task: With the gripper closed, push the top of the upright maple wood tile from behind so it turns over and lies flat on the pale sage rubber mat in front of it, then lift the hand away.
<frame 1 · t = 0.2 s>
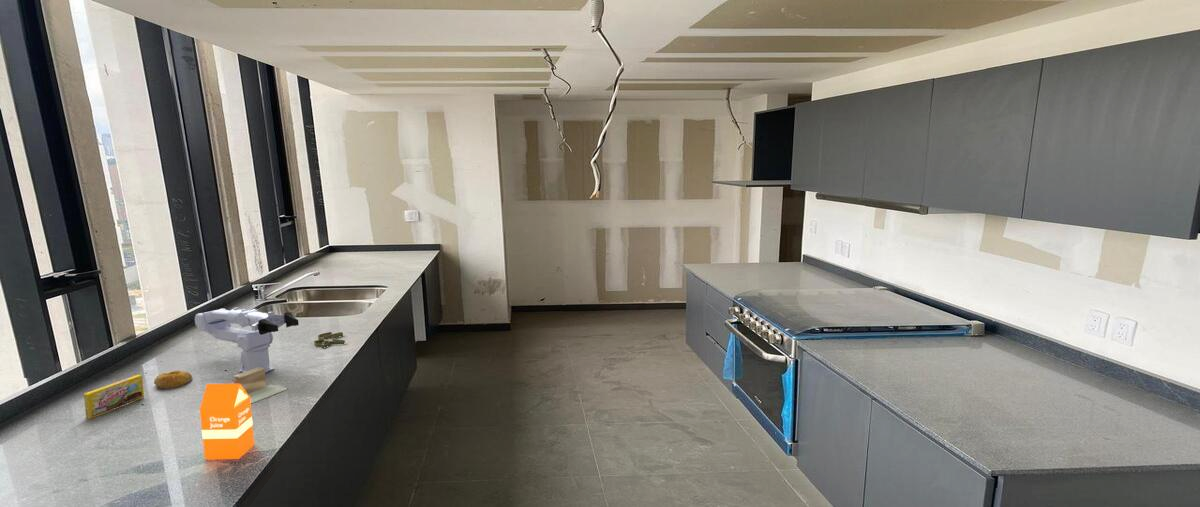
hand: (287, 325, 192), 21 cm above the counter, tool horizontal, fingers open, 7 cm apart
maple tile: (250, 391, 186), on the counter
candy box: (116, 408, 172), on the counter
sage mat: (262, 394, 184), on the counter
orange juice: (230, 452, 147), on the counter
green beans: (329, 342, 239), on the counter
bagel: (174, 384, 191), on the counter
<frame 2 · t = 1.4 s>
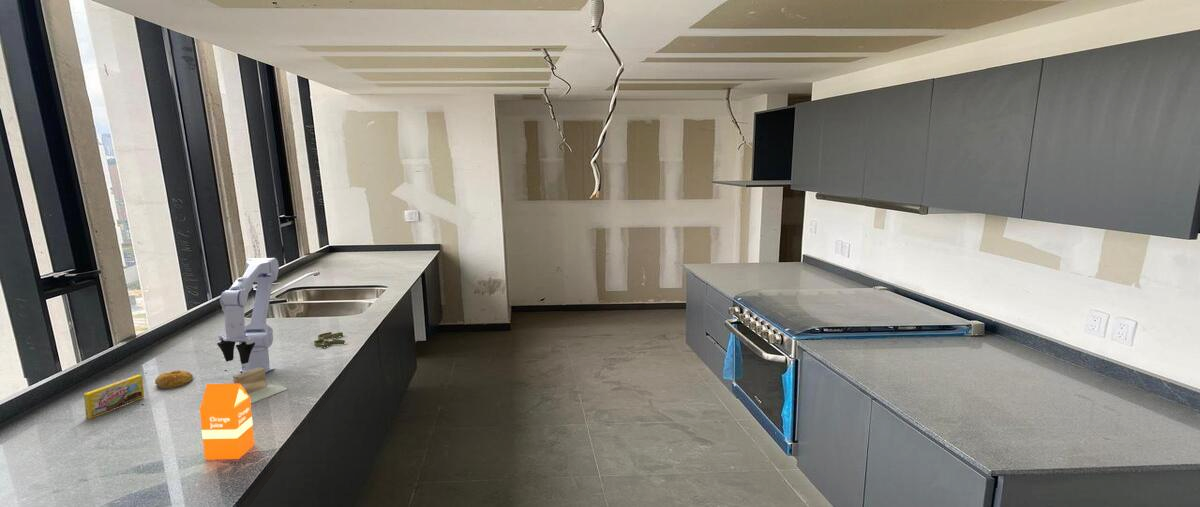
hand: (237, 361, 187), 10 cm above the counter, tool pointing down, fingers open, 7 cm apart
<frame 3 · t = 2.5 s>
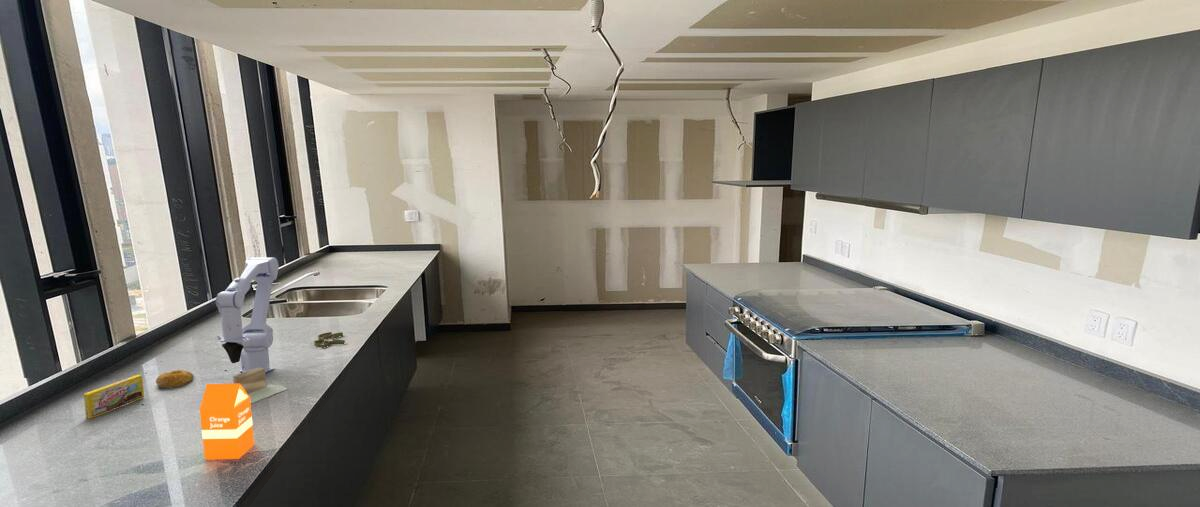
hand: (235, 362, 187), 9 cm above the counter, tool pointing down, fingers closed
nothing on the counter moved.
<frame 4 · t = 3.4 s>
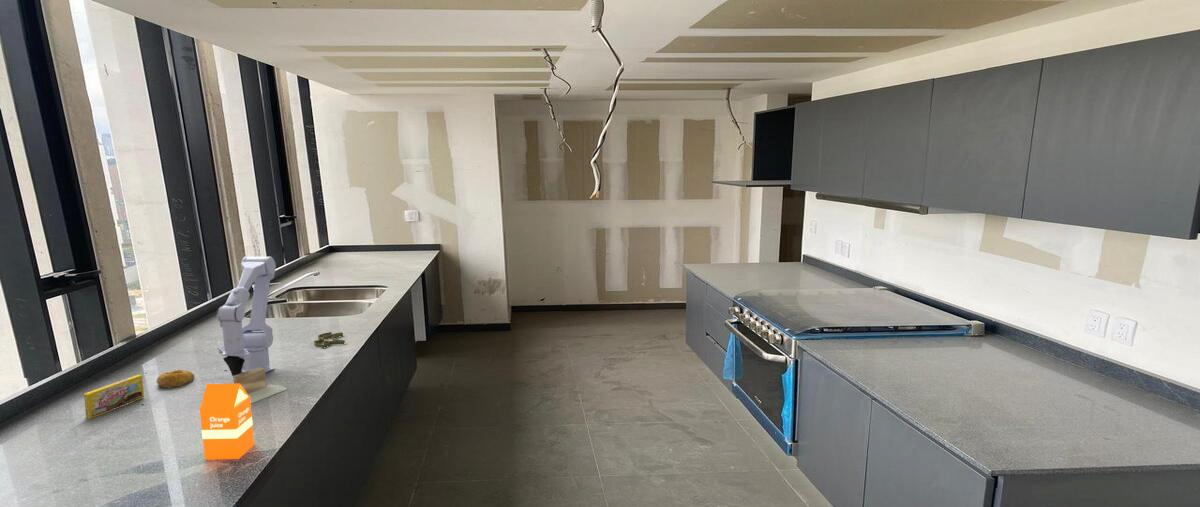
hand: (236, 375, 188), 4 cm above the counter, tool pointing down, fingers closed
nothing on the counter moved.
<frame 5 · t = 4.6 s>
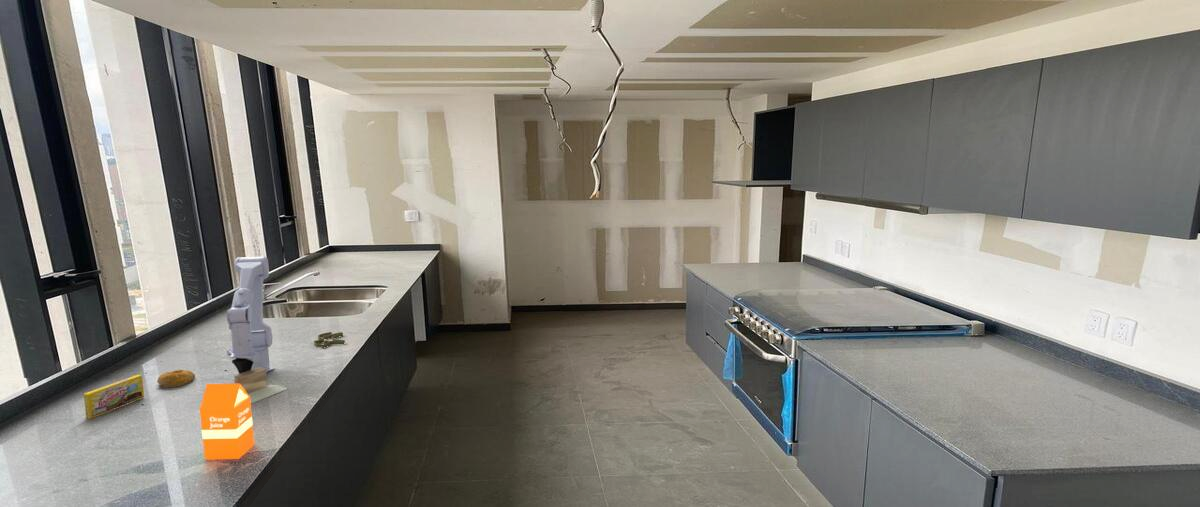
hand: (245, 377, 186), 4 cm above the counter, tool pointing down, fingers closed
maple tile: (250, 390, 186), on the counter, tilted 6°
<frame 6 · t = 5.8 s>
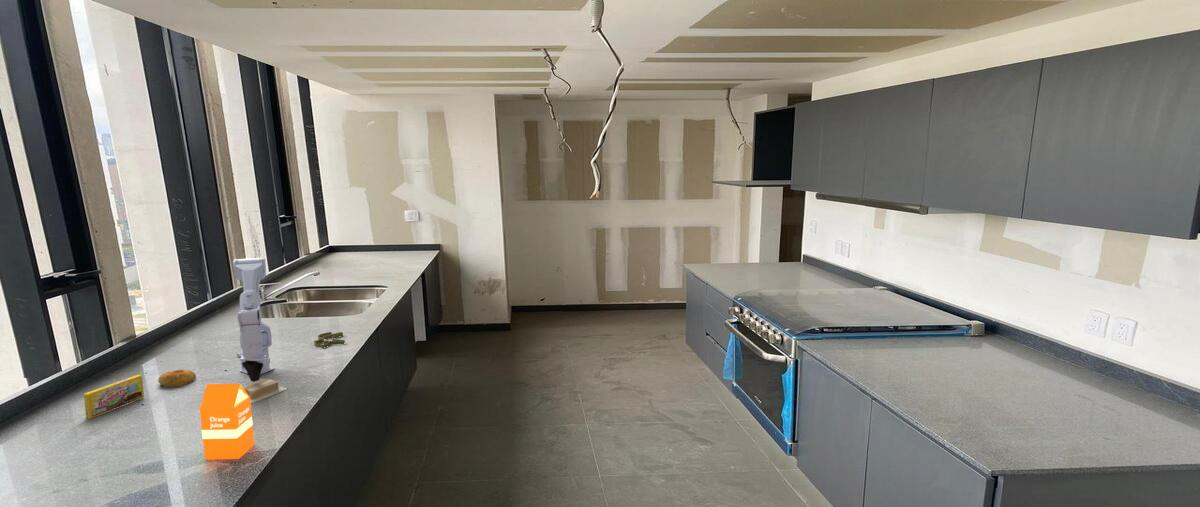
hand: (255, 380, 184), 4 cm above the counter, tool pointing down, fingers closed
maple tile: (252, 386, 185), point 2 cm above the counter, tilted 90°, touching sage mat
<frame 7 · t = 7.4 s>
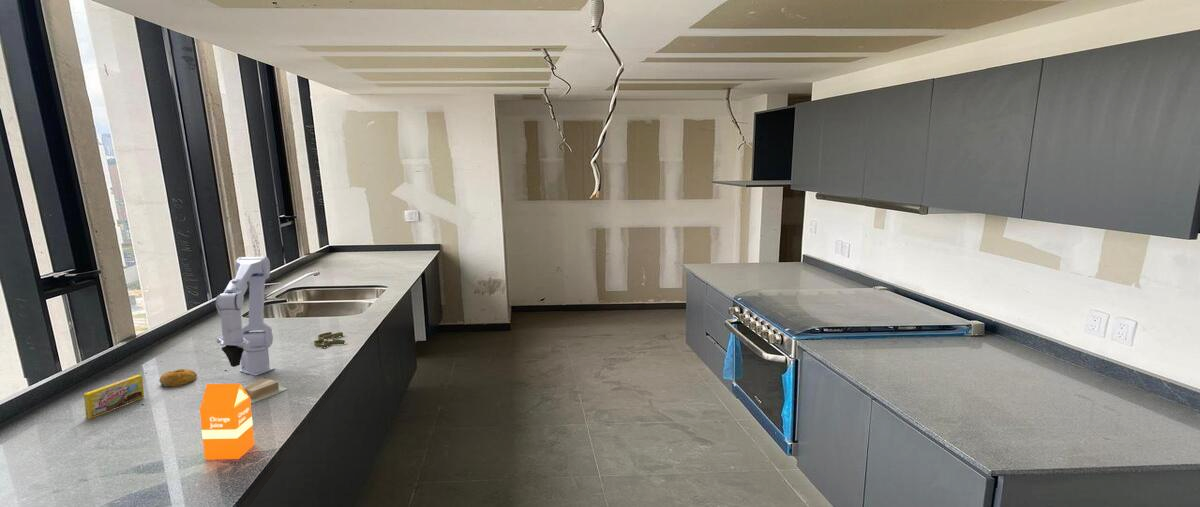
hand: (235, 365, 182), 10 cm above the counter, tool pointing down, fingers closed
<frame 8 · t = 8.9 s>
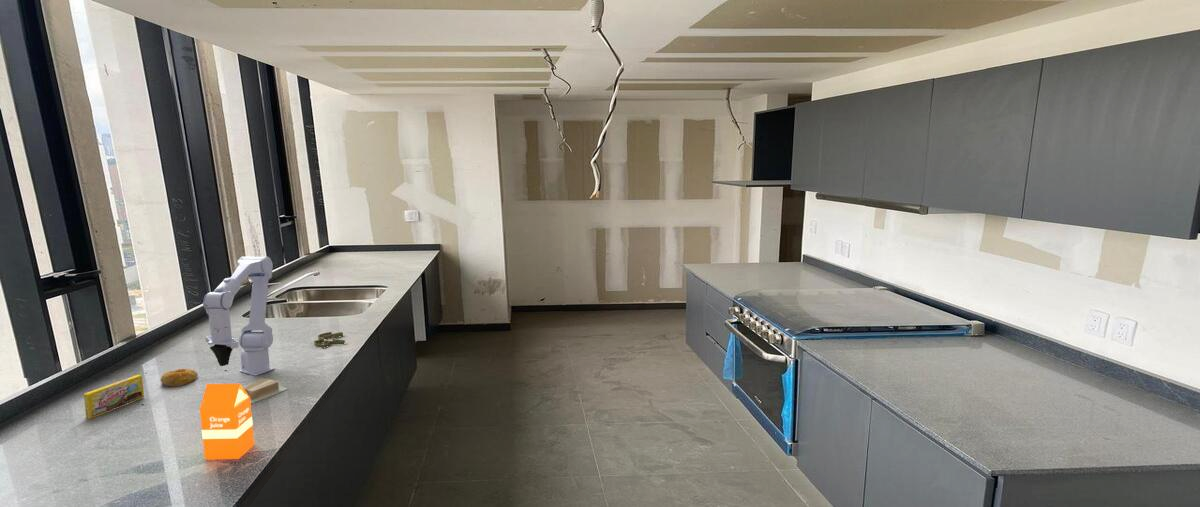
hand: (224, 364, 182), 10 cm above the counter, tool pointing down, fingers closed
at the end: maple tile tilted 90°; maple tile touching sage mat; maple tile inside the target area (1.7 cm from its centre), point 1.8 cm above the counter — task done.
